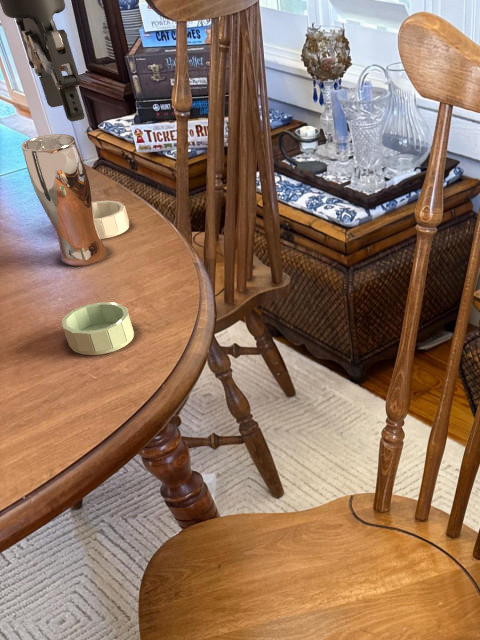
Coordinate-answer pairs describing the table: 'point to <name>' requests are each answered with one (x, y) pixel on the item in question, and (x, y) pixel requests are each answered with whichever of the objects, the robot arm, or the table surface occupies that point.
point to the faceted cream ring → (110, 218)
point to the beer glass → (65, 196)
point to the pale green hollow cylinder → (98, 328)
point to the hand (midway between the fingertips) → (66, 112)
